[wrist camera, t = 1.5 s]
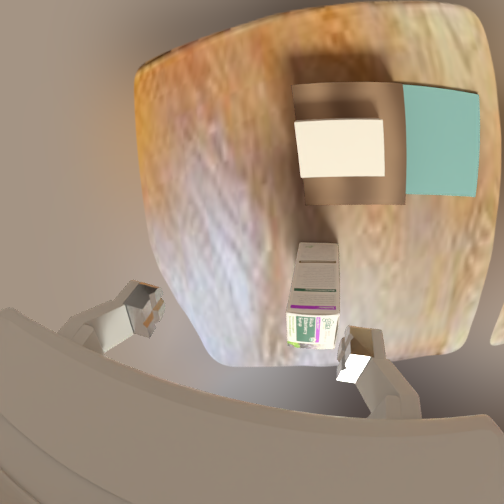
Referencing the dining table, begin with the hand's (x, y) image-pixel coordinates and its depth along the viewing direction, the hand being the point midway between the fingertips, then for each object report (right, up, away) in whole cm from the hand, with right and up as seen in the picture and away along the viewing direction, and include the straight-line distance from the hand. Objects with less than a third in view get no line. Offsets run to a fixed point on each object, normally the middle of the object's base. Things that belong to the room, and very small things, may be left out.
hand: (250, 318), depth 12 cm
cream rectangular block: (+10, +14, +16) cm, 24 cm away
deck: (+12, +16, +19) cm, 28 cm away
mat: (+23, +16, +16) cm, 33 cm away
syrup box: (+10, +2, +29) cm, 31 cm away
